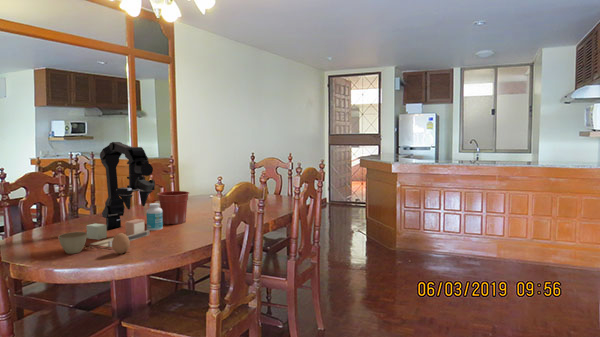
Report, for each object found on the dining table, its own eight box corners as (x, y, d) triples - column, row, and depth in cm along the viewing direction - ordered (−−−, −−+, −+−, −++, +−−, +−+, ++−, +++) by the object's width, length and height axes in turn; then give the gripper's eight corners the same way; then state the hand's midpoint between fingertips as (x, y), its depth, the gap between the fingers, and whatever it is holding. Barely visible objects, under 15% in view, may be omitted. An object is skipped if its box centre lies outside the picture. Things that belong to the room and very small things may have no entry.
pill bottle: (157, 233, 192) (156, 205, 191) (143, 232, 193) (142, 204, 192) (165, 229, 199) (165, 202, 198) (152, 229, 200) (151, 202, 199)
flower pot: (184, 225, 208) (183, 195, 207) (153, 225, 208) (152, 195, 207) (193, 219, 224) (193, 191, 223) (164, 219, 225) (163, 190, 224)
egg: (132, 251, 161) (132, 231, 161) (126, 255, 155) (125, 235, 154) (116, 251, 161) (115, 231, 161) (109, 255, 155) (108, 235, 154)
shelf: (89, 246, 168) (88, 238, 167) (129, 235, 188) (129, 227, 188) (110, 249, 163) (110, 241, 163) (150, 237, 183) (149, 230, 183)
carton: (125, 237, 179) (125, 221, 178) (137, 233, 185) (137, 219, 185) (133, 238, 177) (133, 222, 177) (145, 234, 184) (144, 219, 183)
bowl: (66, 248, 164) (66, 231, 164) (92, 248, 165) (91, 231, 165) (54, 256, 154) (53, 237, 154) (80, 255, 155) (80, 237, 155)
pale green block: (98, 242, 175) (97, 226, 174) (87, 240, 177) (86, 225, 177) (107, 240, 179) (106, 224, 179) (96, 238, 182) (95, 223, 181)
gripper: (134, 177, 172) (135, 212, 174) (163, 173, 190) (164, 205, 191) (114, 175, 176) (115, 210, 178) (144, 172, 194) (145, 203, 195)
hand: (136, 207), depth 185 cm, fingers open, 9 cm apart
